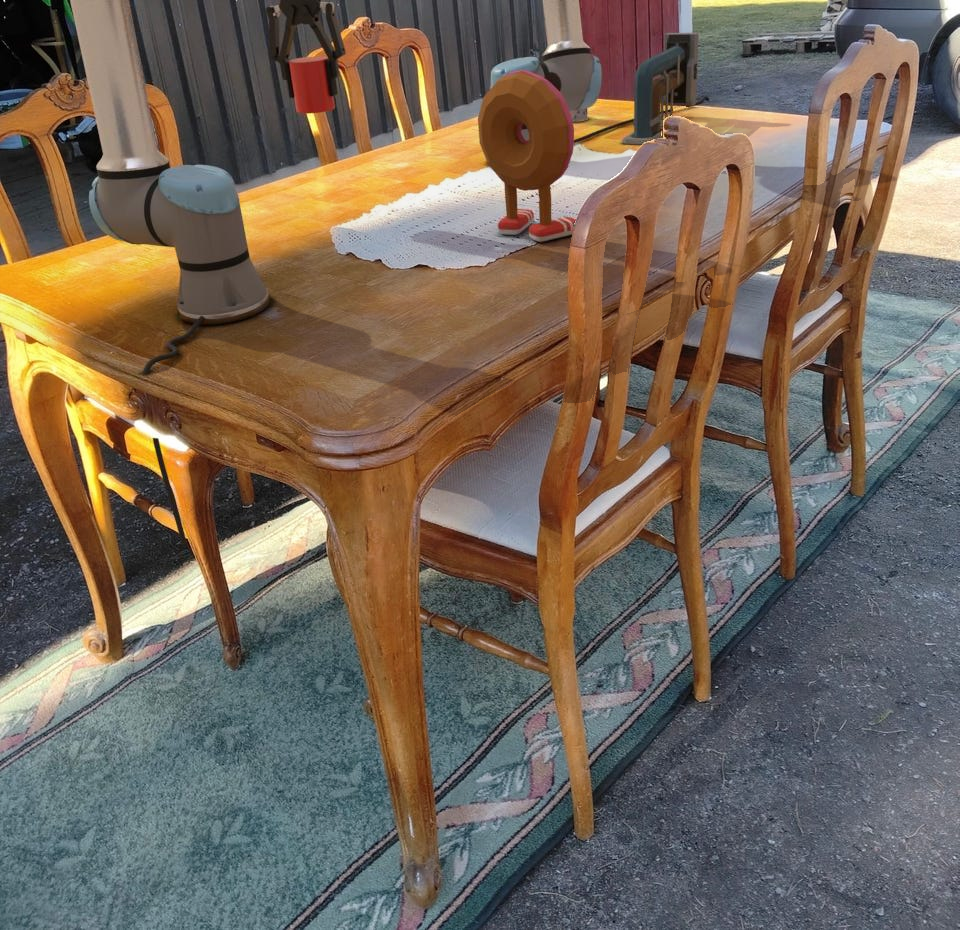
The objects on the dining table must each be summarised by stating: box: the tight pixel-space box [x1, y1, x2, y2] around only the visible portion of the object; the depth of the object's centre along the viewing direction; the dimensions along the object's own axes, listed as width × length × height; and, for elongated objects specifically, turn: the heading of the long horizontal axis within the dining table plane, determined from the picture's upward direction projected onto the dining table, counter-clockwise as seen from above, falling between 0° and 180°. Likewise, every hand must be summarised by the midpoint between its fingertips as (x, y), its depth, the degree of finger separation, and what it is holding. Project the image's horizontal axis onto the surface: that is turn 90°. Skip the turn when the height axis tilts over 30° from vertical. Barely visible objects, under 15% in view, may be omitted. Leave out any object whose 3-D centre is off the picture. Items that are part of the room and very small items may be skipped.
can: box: [288, 55, 336, 115], centre depth 197 cm, size 8×8×10 cm
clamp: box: [621, 32, 699, 145], centre depth 254 cm, size 35×9×21 cm, turn 151°
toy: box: [477, 70, 577, 243], centre depth 182 cm, size 21×10×30 cm, turn 47°
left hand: (313, 95), depth 198 cm, fingers closed on can, 8 cm apart
